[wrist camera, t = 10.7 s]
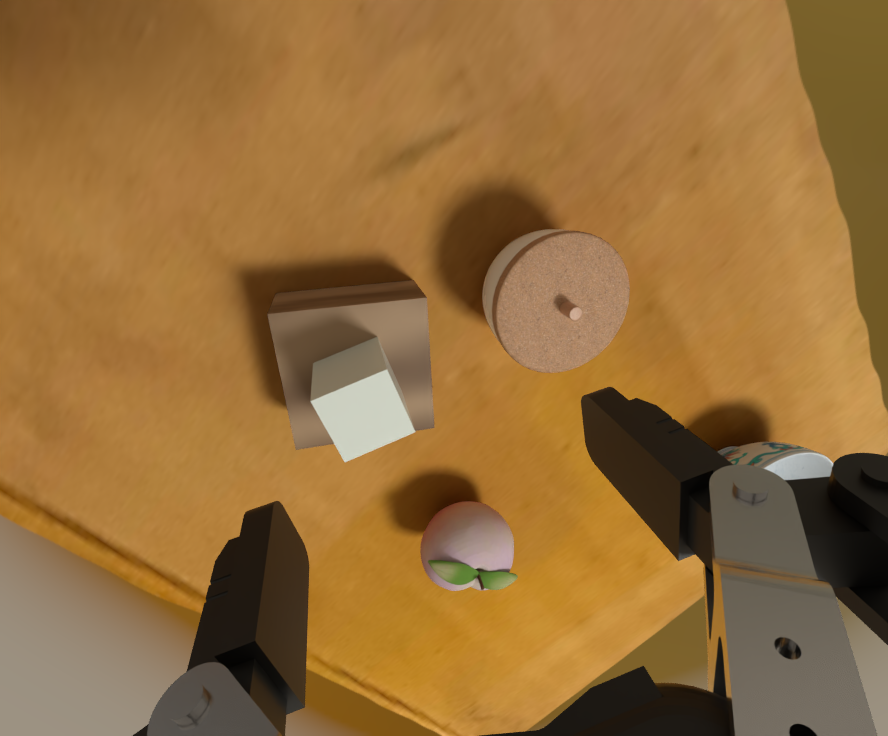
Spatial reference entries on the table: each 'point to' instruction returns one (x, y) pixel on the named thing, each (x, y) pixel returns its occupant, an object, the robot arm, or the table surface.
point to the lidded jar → (556, 298)
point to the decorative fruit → (468, 548)
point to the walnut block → (351, 345)
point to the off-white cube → (359, 399)
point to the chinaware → (780, 459)
